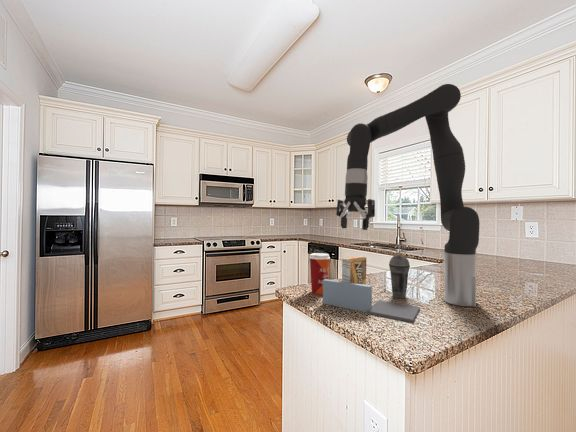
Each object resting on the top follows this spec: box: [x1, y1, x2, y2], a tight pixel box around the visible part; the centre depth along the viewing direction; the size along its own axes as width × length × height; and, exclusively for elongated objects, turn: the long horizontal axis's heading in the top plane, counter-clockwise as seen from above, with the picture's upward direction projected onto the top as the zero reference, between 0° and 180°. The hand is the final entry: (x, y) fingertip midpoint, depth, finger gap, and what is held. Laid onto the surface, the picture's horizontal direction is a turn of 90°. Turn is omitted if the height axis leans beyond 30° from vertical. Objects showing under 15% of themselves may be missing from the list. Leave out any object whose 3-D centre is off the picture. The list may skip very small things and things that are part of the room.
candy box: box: [341, 255, 367, 285], centre depth 96 cm, size 9×4×15 cm, turn 129°
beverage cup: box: [388, 242, 411, 299], centre depth 102 cm, size 7×7×20 cm
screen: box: [322, 278, 373, 313], centre depth 89 cm, size 16×2×8 cm, turn 57°
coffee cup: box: [308, 252, 331, 296], centre depth 106 cm, size 8×8×15 cm
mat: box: [366, 299, 421, 323], centre depth 85 cm, size 13×13×1 cm
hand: (354, 229), depth 96 cm, fingers open, 8 cm apart
